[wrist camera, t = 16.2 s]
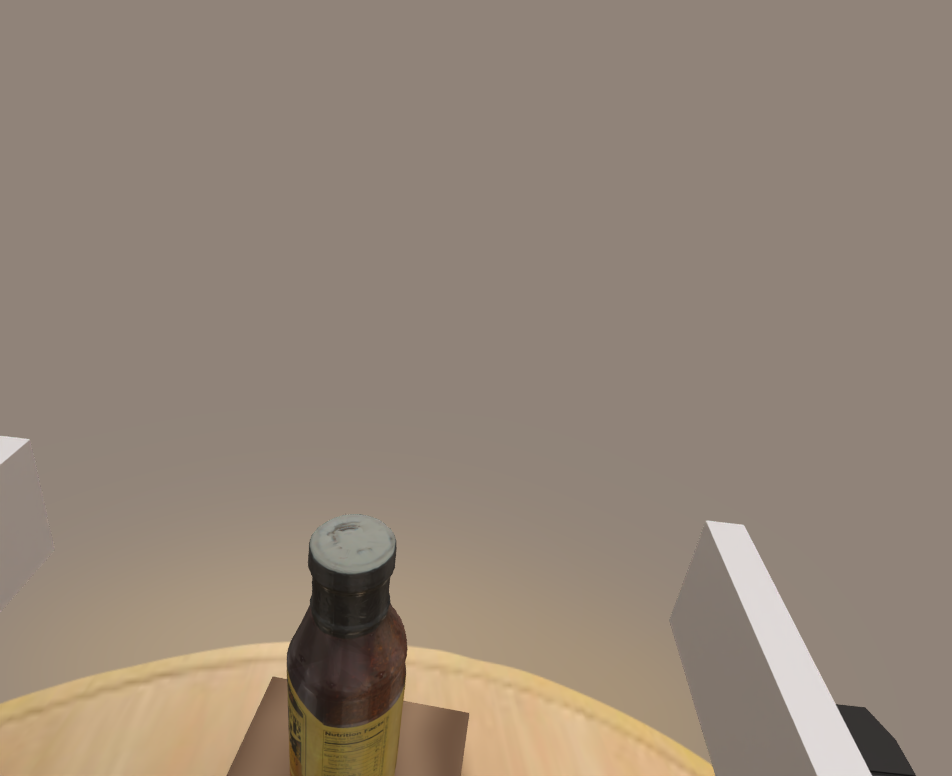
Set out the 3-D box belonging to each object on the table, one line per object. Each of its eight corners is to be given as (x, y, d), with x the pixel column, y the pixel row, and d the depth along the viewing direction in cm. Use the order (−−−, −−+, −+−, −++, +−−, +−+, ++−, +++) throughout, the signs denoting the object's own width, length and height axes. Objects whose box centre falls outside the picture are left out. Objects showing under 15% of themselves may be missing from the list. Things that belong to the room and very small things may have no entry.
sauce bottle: (309, 730, 43) (311, 482, 34) (403, 745, 43) (430, 500, 34) (272, 835, 37) (263, 570, 28) (381, 854, 37) (407, 593, 28)
